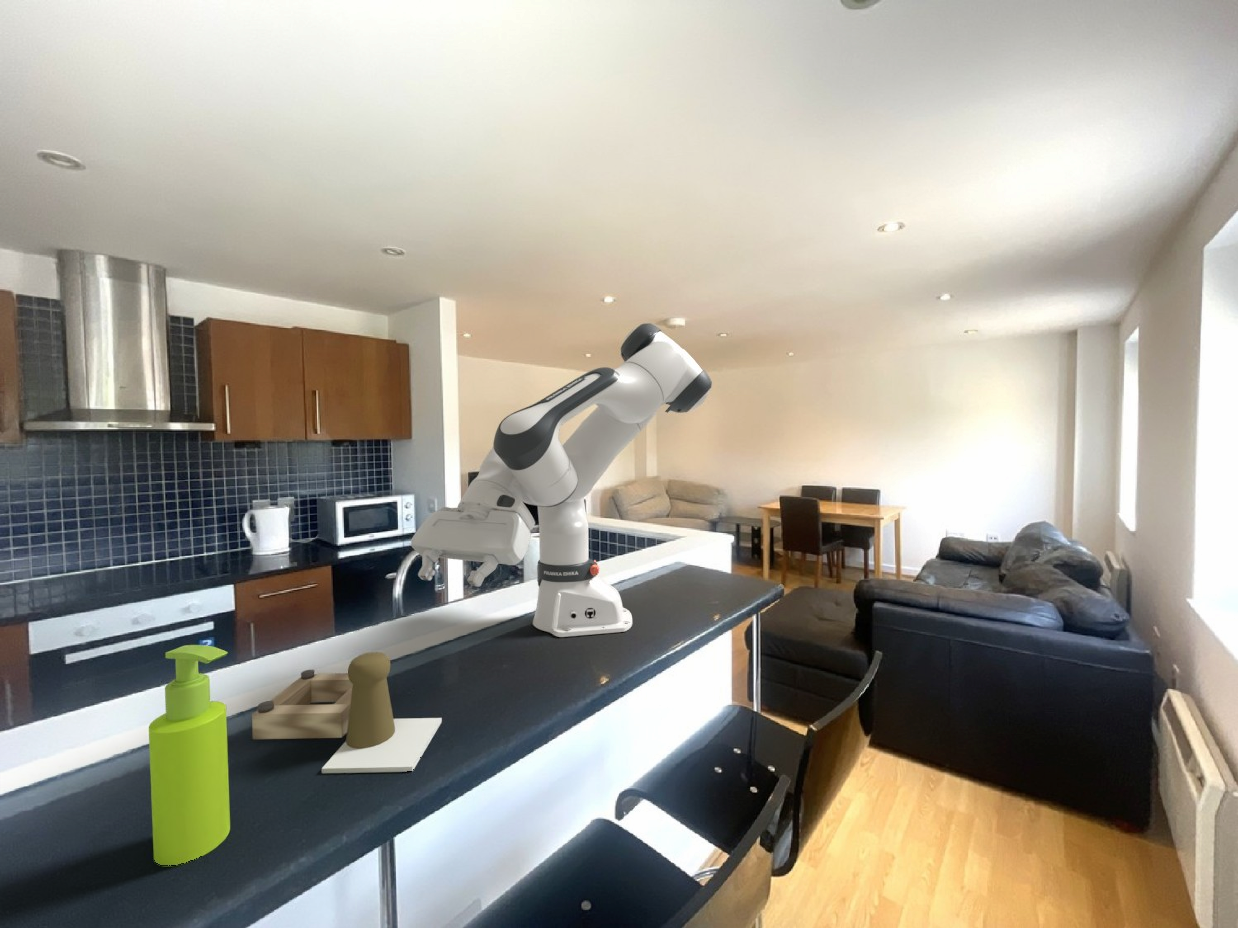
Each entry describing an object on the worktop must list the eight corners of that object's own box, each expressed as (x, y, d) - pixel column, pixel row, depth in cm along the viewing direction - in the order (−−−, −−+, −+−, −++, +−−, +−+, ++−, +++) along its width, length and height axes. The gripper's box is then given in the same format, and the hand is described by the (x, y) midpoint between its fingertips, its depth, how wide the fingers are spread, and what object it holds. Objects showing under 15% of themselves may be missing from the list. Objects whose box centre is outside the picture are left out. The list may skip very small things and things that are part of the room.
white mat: (441, 721, 72) (441, 717, 72) (412, 771, 61) (412, 766, 61) (365, 723, 72) (364, 719, 72) (321, 773, 61) (321, 768, 61)
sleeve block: (380, 693, 81) (380, 667, 80) (341, 737, 69) (340, 706, 68) (305, 695, 80) (304, 668, 80) (252, 739, 68) (251, 708, 68)
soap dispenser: (195, 873, 47) (187, 664, 46) (137, 860, 48) (129, 657, 47) (252, 826, 53) (246, 639, 52) (199, 816, 54) (193, 634, 53)
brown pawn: (335, 747, 65) (333, 664, 65) (363, 721, 71) (361, 646, 71) (379, 749, 65) (377, 666, 64) (403, 723, 71) (402, 647, 70)
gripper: (428, 496, 87) (384, 564, 78) (529, 500, 79) (493, 576, 71) (446, 517, 91) (406, 584, 83) (544, 523, 84) (512, 598, 75)
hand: (447, 581), depth 77 cm, fingers open, 8 cm apart
